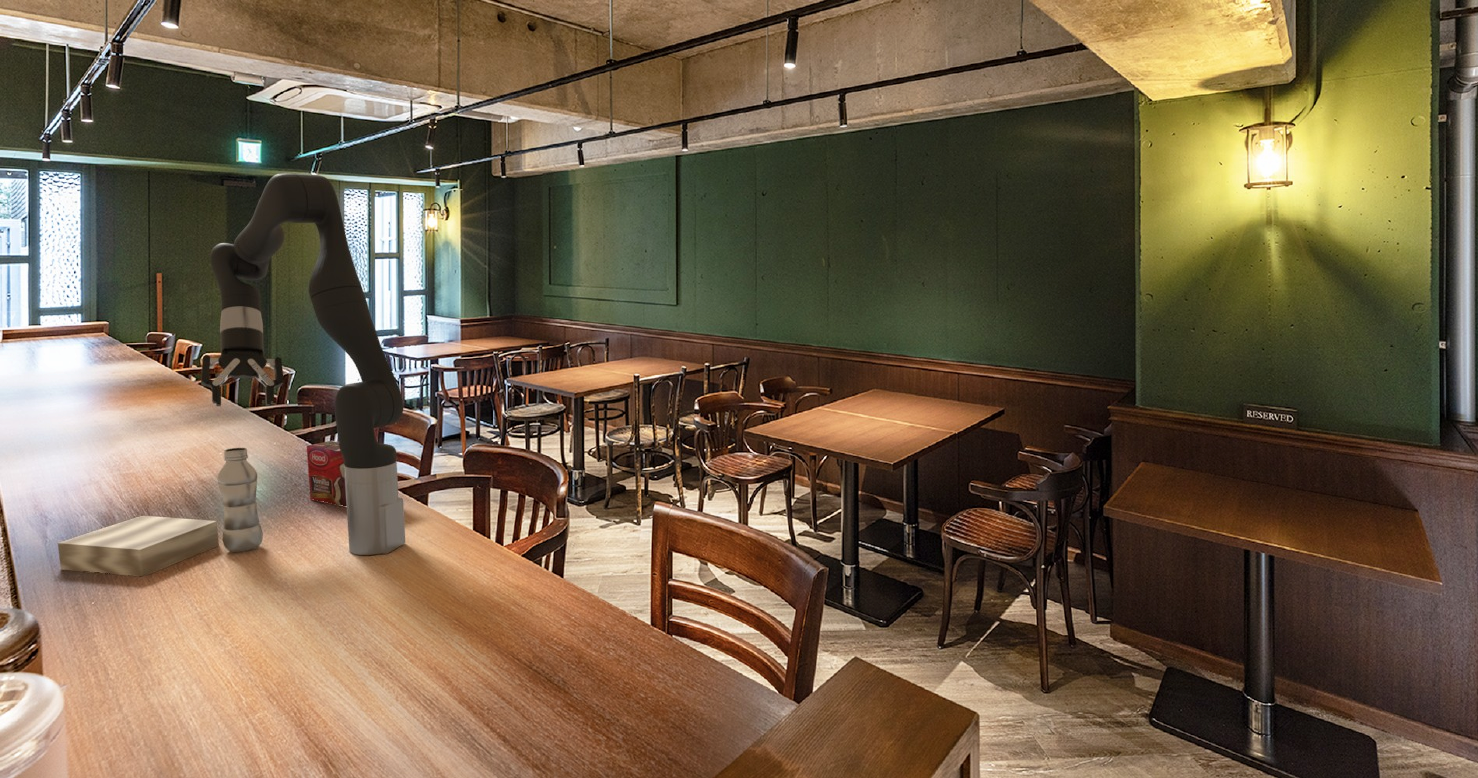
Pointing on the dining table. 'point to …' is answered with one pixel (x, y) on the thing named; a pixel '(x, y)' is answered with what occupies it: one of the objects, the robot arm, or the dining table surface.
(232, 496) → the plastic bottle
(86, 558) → the oak pedestal
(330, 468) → the ice cream box
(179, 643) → the dining table surface
